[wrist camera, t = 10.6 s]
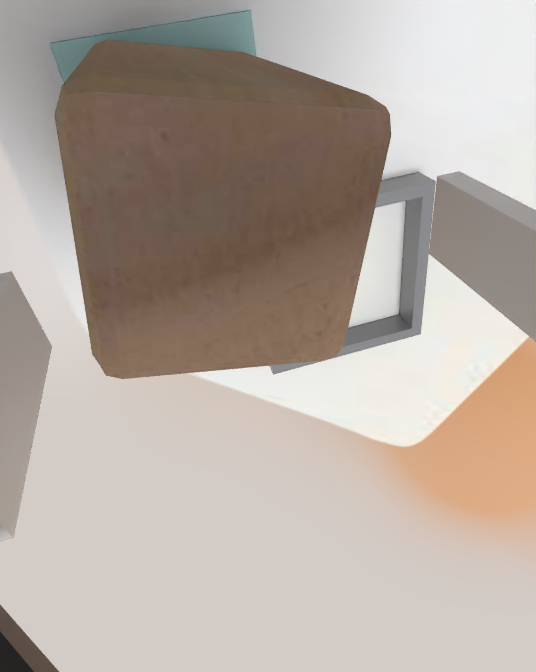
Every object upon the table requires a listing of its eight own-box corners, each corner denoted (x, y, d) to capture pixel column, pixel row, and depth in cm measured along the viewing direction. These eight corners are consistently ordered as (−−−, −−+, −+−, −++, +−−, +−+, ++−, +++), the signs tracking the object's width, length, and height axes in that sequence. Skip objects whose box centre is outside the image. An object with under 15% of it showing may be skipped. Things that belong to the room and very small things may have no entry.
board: (50, 43, 27) (49, 43, 26) (249, 10, 28) (250, 10, 28) (117, 232, 34) (117, 235, 34) (272, 198, 35) (273, 200, 35)
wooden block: (245, 206, 35) (348, 368, 19) (107, 205, 32) (94, 393, 16) (255, 52, 29) (412, 102, 13) (89, 37, 27) (42, 76, 11)
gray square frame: (242, 211, 35) (249, 223, 33) (419, 172, 37) (435, 181, 35) (266, 358, 44) (273, 374, 42) (407, 320, 46) (420, 334, 44)
